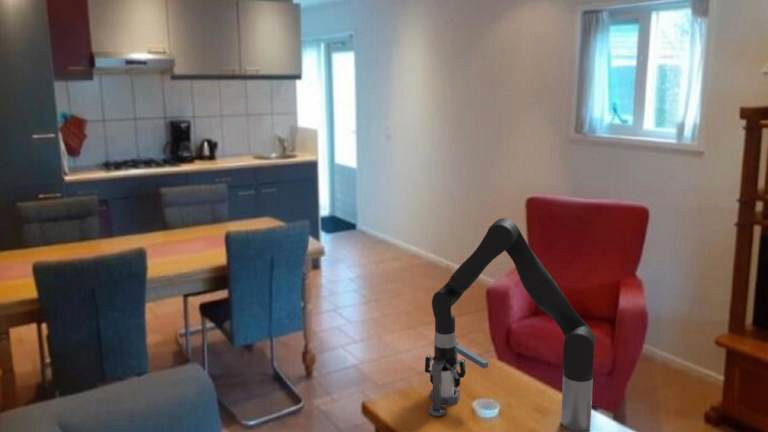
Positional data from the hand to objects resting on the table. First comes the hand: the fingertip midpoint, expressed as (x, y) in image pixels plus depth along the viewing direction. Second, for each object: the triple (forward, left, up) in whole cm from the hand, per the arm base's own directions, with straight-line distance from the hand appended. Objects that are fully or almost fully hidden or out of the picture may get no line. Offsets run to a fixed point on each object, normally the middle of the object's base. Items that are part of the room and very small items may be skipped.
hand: (445, 385), depth 222 cm
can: (0, 0, -5) cm, 5 cm away
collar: (0, 0, -5) cm, 5 cm away
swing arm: (-7, -7, +9) cm, 13 cm away
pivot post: (0, -12, -5) cm, 13 cm away
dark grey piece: (0, +10, -5) cm, 12 cm away
